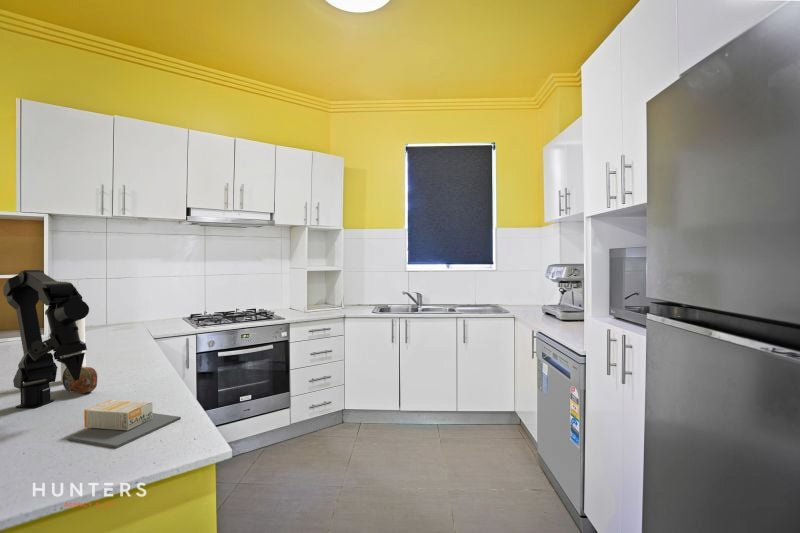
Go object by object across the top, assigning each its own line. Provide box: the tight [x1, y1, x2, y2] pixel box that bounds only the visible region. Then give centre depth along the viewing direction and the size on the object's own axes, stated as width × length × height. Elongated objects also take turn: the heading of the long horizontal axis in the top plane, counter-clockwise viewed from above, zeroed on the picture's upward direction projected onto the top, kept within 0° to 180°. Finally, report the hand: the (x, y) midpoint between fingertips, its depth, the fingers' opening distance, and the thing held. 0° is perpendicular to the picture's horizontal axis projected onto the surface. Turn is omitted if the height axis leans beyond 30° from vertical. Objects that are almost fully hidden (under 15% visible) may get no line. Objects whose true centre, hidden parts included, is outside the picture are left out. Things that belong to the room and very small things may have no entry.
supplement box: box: [83, 399, 153, 430], centre depth 106 cm, size 8×5×13 cm
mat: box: [67, 412, 182, 449], centre depth 104 cm, size 16×18×1 cm
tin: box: [62, 366, 98, 394], centre depth 136 cm, size 15×3×8 cm, turn 68°
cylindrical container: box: [60, 317, 87, 384], centre depth 148 cm, size 7×7×25 cm
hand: (76, 380), depth 112 cm, fingers closed
